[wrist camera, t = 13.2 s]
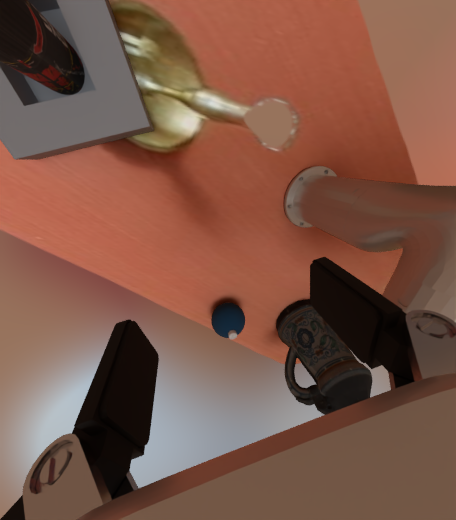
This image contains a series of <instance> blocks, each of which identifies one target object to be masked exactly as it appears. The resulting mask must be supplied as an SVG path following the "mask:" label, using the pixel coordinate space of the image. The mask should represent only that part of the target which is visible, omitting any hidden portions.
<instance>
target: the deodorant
mask: <svg viewBox="0 0 456 520" xmlns="http://www.w3.org/2000/svg"><path fill="white" fill-rule="evenodd" d="M0 62H2V63H4V64H6V65H8V66H9V67H11V68H13V69H15V70H17V71H19V72H20V73H22V74H24V75H26V76H28V77H29V78H31V79H33V80H35V81H37V82H39V83H40V84H42V85H44V86H46V87H48V88H49V89H51V90H53V91H55V92H57V93H59V94H64V95H73V94H76V93H78V92H79V91H80V90H81V89H82V87H83V84H84V80H85V73H84V67H83V64H82V62H81V59H80V57H79V56H78V54H77V52H76V51H75V50H74V48H73V47H72V46H71V45H70V44H69V43H68V42H67V40H66V39H65V38H64V37H63V36H62V35H61V34H60V33H59V32H58V31H57V30H56V29H55V28H54V27H53V26H52V25H51V24H50V23H49V22H48V21H47V19H46V18H45V17H44V16H43V15H42V14H41V13H40V12H39V11H38V10H37V9H36V8H35V7H34V6H33V5H32V4H31V3H30V2H29V1H28V0H0Z"/></svg>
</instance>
